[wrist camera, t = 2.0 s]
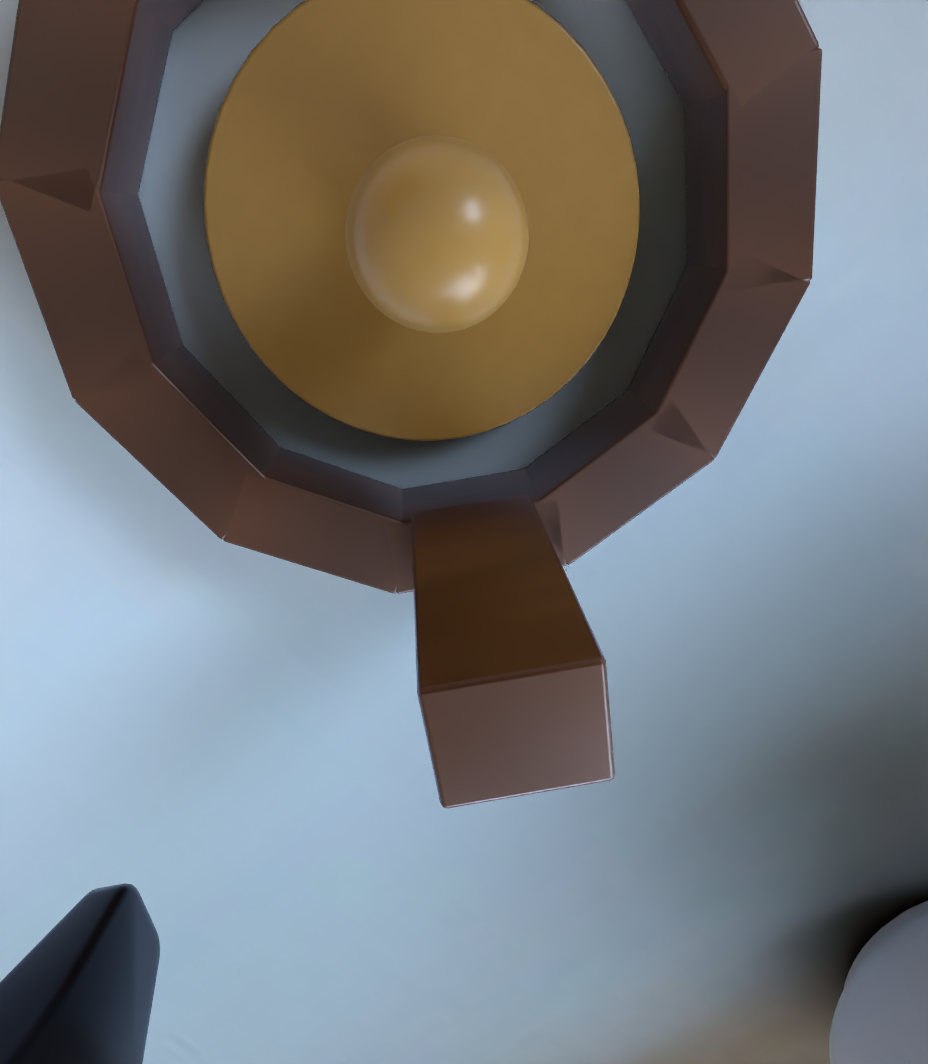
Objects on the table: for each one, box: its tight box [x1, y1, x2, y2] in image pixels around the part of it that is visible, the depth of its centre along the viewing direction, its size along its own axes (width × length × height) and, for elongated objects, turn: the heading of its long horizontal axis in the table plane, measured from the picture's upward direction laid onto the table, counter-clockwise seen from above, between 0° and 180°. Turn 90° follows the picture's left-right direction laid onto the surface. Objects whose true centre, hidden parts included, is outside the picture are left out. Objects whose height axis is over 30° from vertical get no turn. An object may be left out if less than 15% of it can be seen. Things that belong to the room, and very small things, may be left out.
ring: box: [0, 0, 822, 808], centre depth 11 cm, size 14×14×8 cm
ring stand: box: [203, 0, 640, 441], centre depth 12 cm, size 8×8×6 cm
